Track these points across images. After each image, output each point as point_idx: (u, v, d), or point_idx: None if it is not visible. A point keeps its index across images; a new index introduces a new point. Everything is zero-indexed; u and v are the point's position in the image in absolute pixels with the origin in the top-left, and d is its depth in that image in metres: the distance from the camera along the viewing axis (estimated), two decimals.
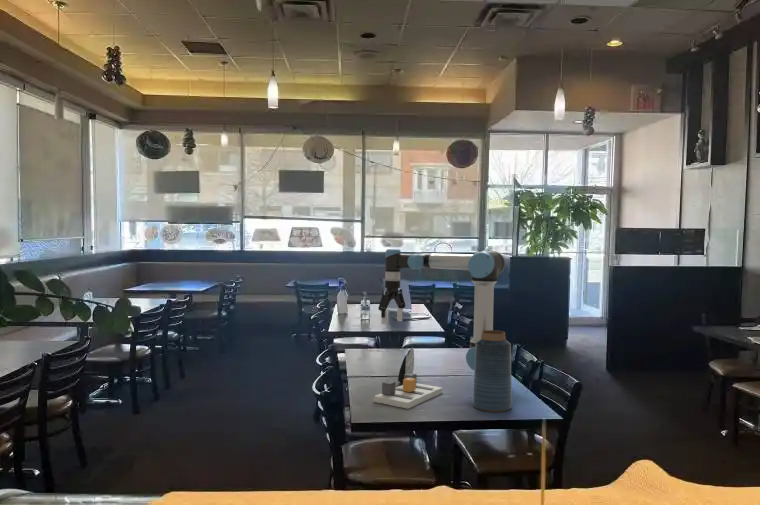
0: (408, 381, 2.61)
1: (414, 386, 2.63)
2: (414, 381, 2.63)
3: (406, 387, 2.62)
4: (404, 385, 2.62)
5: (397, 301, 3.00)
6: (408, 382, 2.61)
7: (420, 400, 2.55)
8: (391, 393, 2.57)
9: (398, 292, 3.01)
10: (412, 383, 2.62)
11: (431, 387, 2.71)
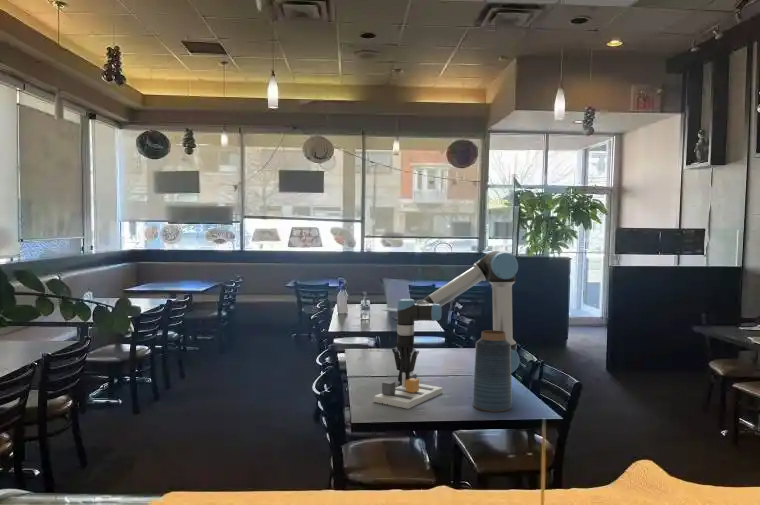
0: (411, 382, 2.60)
1: (417, 387, 2.62)
2: (417, 382, 2.62)
3: (409, 388, 2.61)
4: (407, 385, 2.61)
5: None
6: (411, 383, 2.60)
7: (420, 400, 2.55)
8: (391, 393, 2.57)
9: None
10: (415, 384, 2.61)
11: (431, 387, 2.71)
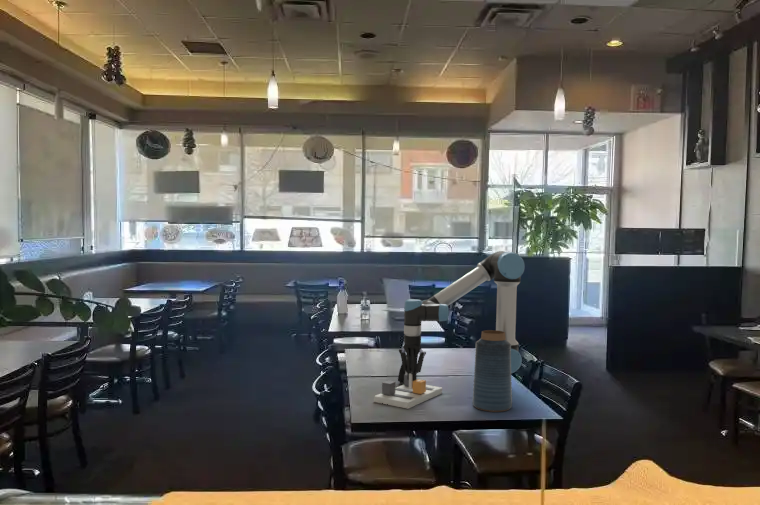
0: (418, 383, 2.58)
1: (424, 388, 2.60)
2: (424, 383, 2.60)
3: (416, 389, 2.59)
4: (413, 386, 2.60)
5: None
6: (418, 384, 2.58)
7: (420, 400, 2.55)
8: (391, 393, 2.57)
9: None
10: (422, 385, 2.59)
11: (431, 387, 2.71)
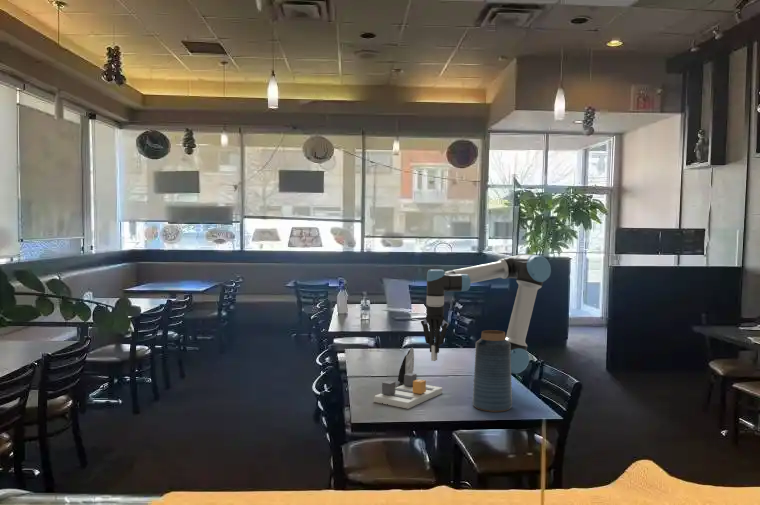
0: (418, 383, 2.58)
1: (424, 388, 2.60)
2: (424, 383, 2.60)
3: (416, 389, 2.59)
4: (413, 386, 2.60)
5: None
6: (418, 384, 2.58)
7: (420, 400, 2.55)
8: (391, 393, 2.57)
9: None
10: (422, 385, 2.59)
11: (431, 387, 2.71)
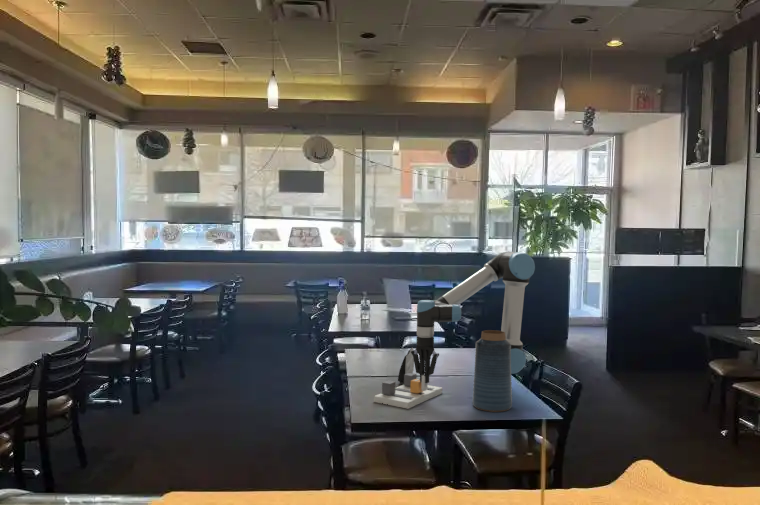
0: (416, 382, 2.59)
1: None
2: None
3: (414, 389, 2.60)
4: (411, 386, 2.60)
5: None
6: (415, 384, 2.59)
7: (420, 400, 2.55)
8: (391, 393, 2.57)
9: None
10: (420, 384, 2.59)
11: (431, 387, 2.71)
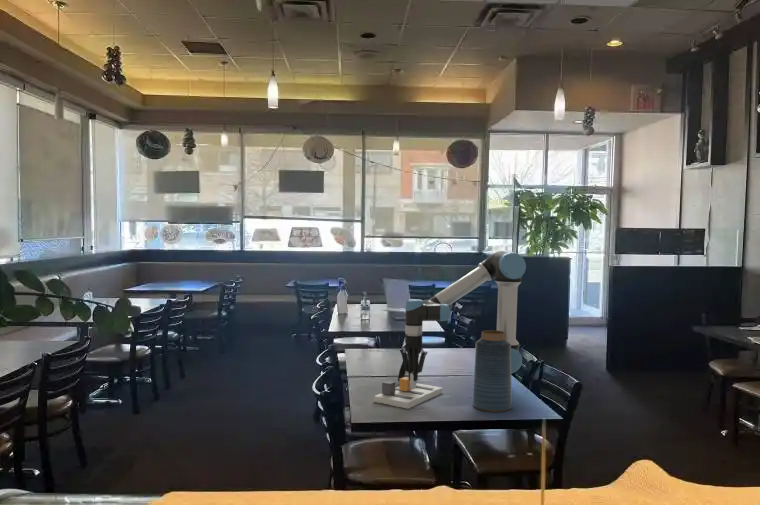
0: (404, 380, 2.62)
1: None
2: None
3: (402, 387, 2.63)
4: (400, 384, 2.63)
5: None
6: (404, 382, 2.62)
7: (420, 400, 2.55)
8: (391, 393, 2.57)
9: (421, 352, 2.59)
10: (408, 382, 2.63)
11: (431, 387, 2.71)
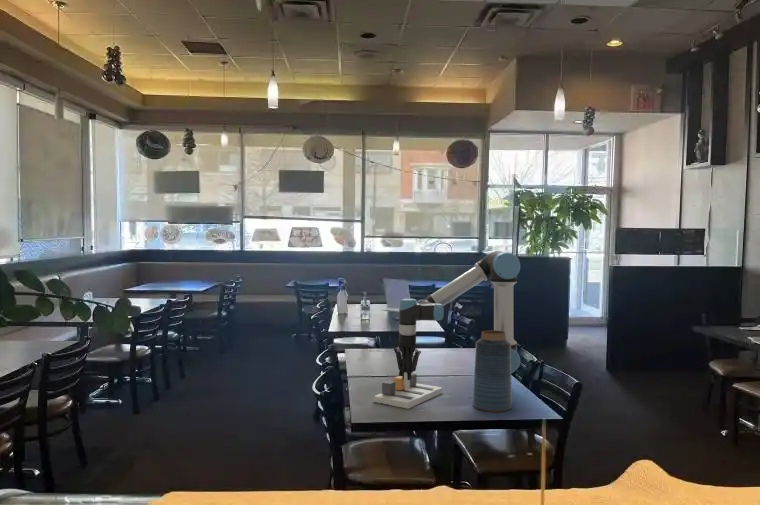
0: (398, 379, 2.64)
1: None
2: None
3: (396, 386, 2.64)
4: None
5: None
6: (398, 381, 2.64)
7: (420, 400, 2.55)
8: (391, 393, 2.57)
9: (414, 352, 2.61)
10: (402, 381, 2.64)
11: (431, 387, 2.71)
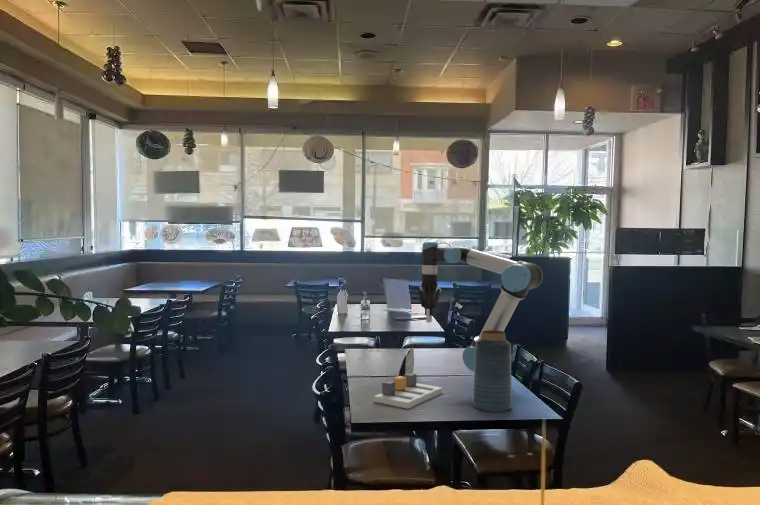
0: (398, 379, 2.64)
1: (404, 384, 2.66)
2: (404, 379, 2.66)
3: (396, 386, 2.64)
4: None
5: None
6: (398, 381, 2.64)
7: (420, 400, 2.55)
8: (391, 393, 2.57)
9: (436, 289, 2.87)
10: (402, 381, 2.64)
11: (431, 387, 2.71)
